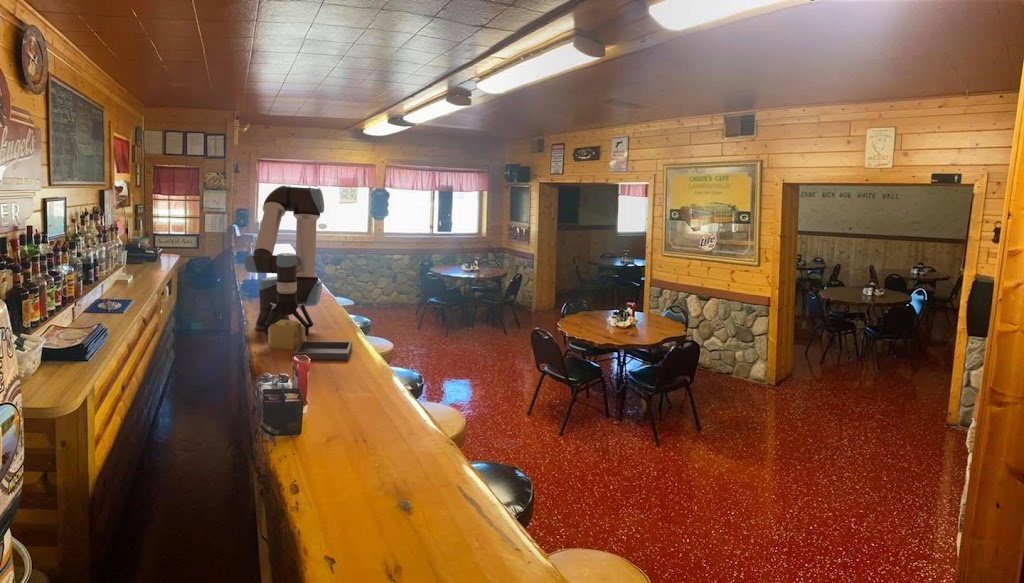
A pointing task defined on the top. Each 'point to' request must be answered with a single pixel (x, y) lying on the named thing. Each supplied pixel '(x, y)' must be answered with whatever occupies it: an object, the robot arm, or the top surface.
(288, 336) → the cheese
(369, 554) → the top surface
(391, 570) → the top surface
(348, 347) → the tray
